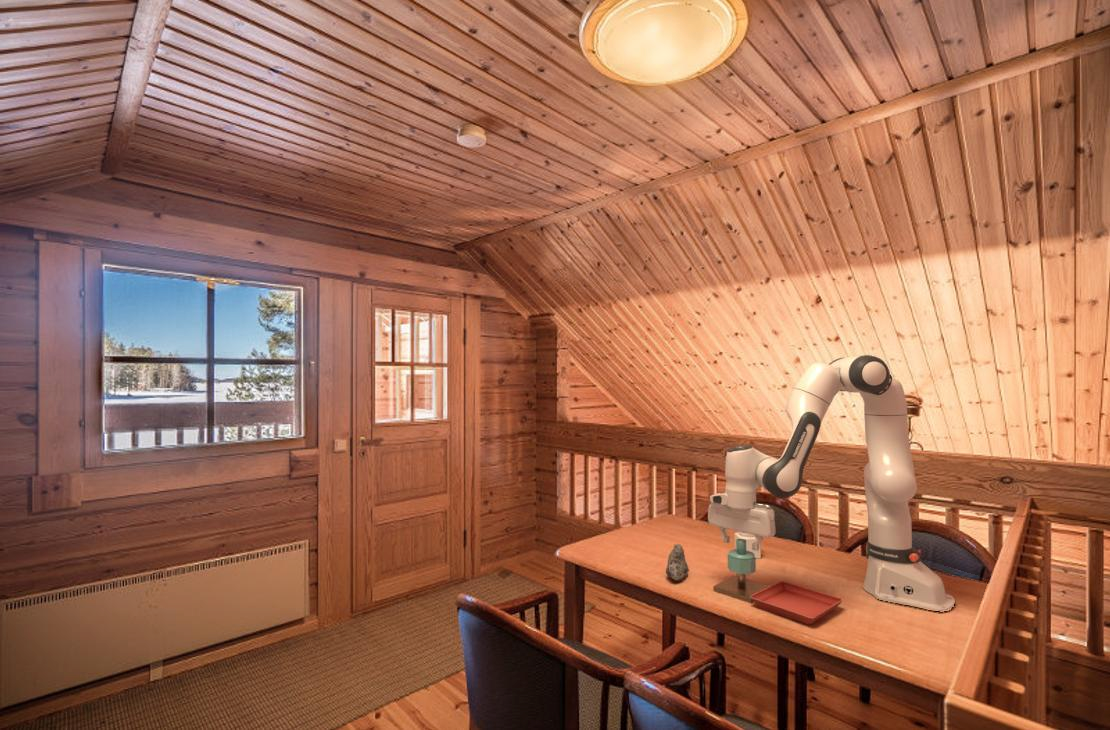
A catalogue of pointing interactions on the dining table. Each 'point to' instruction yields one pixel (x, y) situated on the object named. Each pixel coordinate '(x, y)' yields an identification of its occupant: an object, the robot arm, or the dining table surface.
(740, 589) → the post
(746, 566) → the cap
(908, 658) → the dining table surface
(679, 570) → the mineral rock
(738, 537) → the medicine bottle
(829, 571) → the dining table surface
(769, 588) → the plant saucer
